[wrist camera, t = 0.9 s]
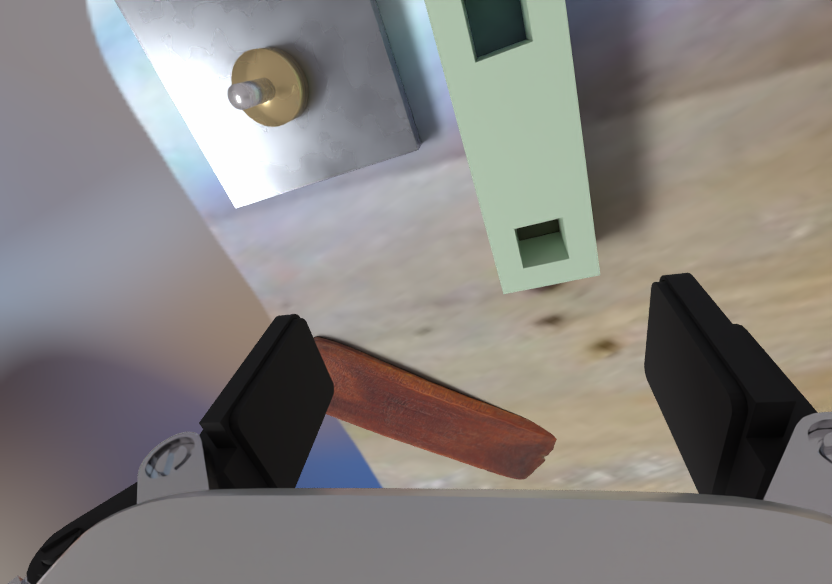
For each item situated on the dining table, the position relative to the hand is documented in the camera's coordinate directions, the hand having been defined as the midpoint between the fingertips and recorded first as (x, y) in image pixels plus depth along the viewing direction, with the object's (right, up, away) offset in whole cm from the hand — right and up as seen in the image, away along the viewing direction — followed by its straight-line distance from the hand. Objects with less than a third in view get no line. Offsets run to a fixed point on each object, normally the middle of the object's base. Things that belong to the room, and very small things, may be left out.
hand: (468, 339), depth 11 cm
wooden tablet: (0, -11, +30) cm, 32 cm away
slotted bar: (+5, +11, +14) cm, 19 cm away
